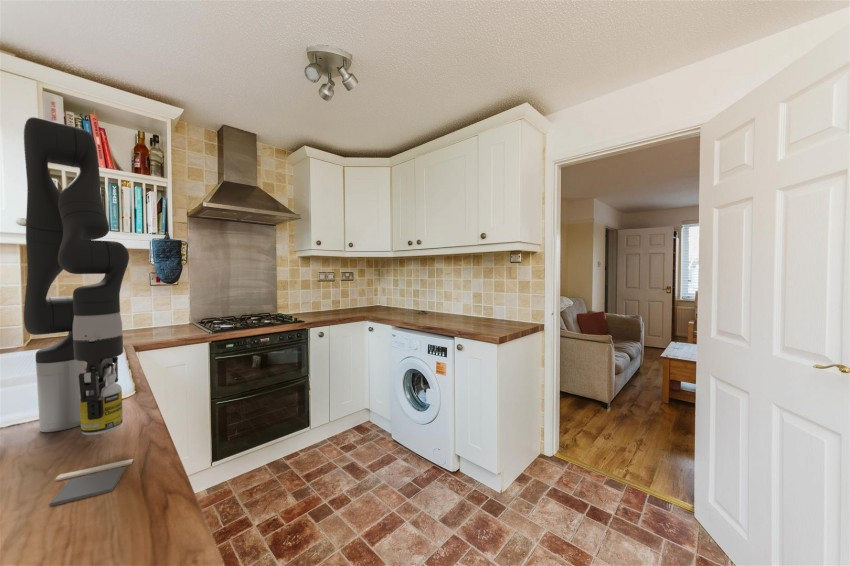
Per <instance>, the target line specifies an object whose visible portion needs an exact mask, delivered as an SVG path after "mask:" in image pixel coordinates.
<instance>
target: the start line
mask: <svg viewBox="0 0 850 566" xmlns="http://www.w3.org/2000/svg"><path fill="white" fill-rule="evenodd" d="M133 462H134V458H129V459H126V460H121V461H115V462H112V463H108V464H102V465H98V466H94V467H93V466H92V467H88V468H84V469H80V470H75V471H71V472H67V473H66V472H65V473H61V474H59V475H58V476H56V478H54V479H55V482H57V481H62V480H67V479H73V478H77V477H81V476H83V475H84V476H86V475H90V474H92V473H93V474H95V473H99V472H104V471H108V470H113V469H117V468H122V467H126V466H129V465H132V464H133Z"/></svg>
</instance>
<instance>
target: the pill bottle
mask: <svg viewBox="0 0 850 566" xmlns="http://www.w3.org/2000/svg"><path fill="white" fill-rule="evenodd" d="M115 380H116V374H115V373H111V374H110V375H109V378H108V386H107V388H106V389H104V393H103V416H102V418H100V419H94V420H89V419H88V413H87V402H86V403H85V402H83V403H81V397H80V420H81V425H80V431H81V434H83V435H84V436H85V435H86V436H95V435H96V436H97V435H102V434H104V433H108V432H111V431H114V430H116V429H118V428H119V427H121V426H122V424H123V420H124V418H123V417H124V416H123V393H122V392H123V391H122V386H121V385H120V384H119V383H117V382H116V383H114V381H115ZM102 383H103V382H102ZM102 383H99V385H100V384H102ZM91 395H94V391H93V390H92V391H91Z"/></svg>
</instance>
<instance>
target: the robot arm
mask: <svg viewBox="0 0 850 566" xmlns="http://www.w3.org/2000/svg"><path fill="white" fill-rule="evenodd" d="M23 127H24V128H23V148H24V158H25V159H24V160H25V171H26V172H25V174H26V184H27V186H26V188H27V190H26V191H27V195H26V196H27V197H26V199H27V200H26V215H25V217H26V219H25V244H26V245H25V246H26V248H25V250H26V264H27V265H26V267H27V268H26V269H27V271H26V272H27V273H26V286H25V294H24V295H25V297H24V307H23V324H24V328H25V330H26V332H27V333H28V334H30V335H32V336H38V335H39V336H40V335H49V334H59V333H61V334H62V333H68V334H67V335H66V336H65V337H64V338H63V339H60V340H59V341H57V342H56V343H53V344H51V345H48V346H45V347H42V348H40V349H38V350H37V351H36V353H35V368H36V369H35V370H36V385H37V386H36V387H37V402H38V423H39V431H40V432H41V433H52V432H60V431H65V430H69V429H73V428H76V427H78V426H81V420H80V397H81V403H83V402H85V403H86V402H87V413H88V419H89V420H94V419H100V418H102V416H103V393H104V389H106V388H107V386H108V378H109V375H110V374H111V373H115V374H116V380H115V381H114V383H116V384H117V383H118V381H119V367H118V365H119V356H121V355H122V354H123V353H124V340H123V339H124V337H123V334H124V333H123V322H122V321H123V320H122V318H121V317H122V316H121V303H120V301H121V300H120V296H121V295H120V293H121V287H122V283H123V281H124V280H123V279H124V277H125V274H126V271H127V268H128V266H129V262H130V261H129V260H130V253H129V251H128V248H127V247H126V246H125V245H124V244H123V243H121V242H118V241H114V240H98V239H101V238H104V237H106V236H107V235H108V234H109V231H110V225H109V221H108V218H107V215H106V211H105V208H104V205H103V199H102V192H101V191H102V190H101V176H100V166H99V157H98V148H97V143H96V141H95V138H94V136H93V135H92V134H91V132H89V131H88V130H85V129H83V128H79V127H77V126H72V125H69V124H65V123H61V122H57V121H53V120H49V119H45V118H40V117H34V116H32V117H28V118H27V119H26V120H25V122H24V125H23ZM49 164H55V165H61V166H67V167H71V168H79V172H78V174H77V176H76V177H75V178H74V179H73V180H72V181H71V182H70V183H69V184H68V185H67V186H66V187H65V188H64V189H63V190H62V191H60V190H59V189H58V187H57V186H56V184H55V182H54V181H53V178H52V176H51V173H50V170H49ZM63 271H65V272H67V273H69V274H72V275H73V274H74V275H101V274H102V275H103V274H104V276H103V278H102V280H100V281H99V282H97V283H94V284H88V285H82V286H78V287H76V288H75V289H74V290H73V291H72V295H69V296H68V295H67V296H66V295H62V296H49V297H48V293H49V290H50V288H51V286H52V284H53V283H54V281H55V280H56V278H57V277H58V276H59V275H60V273H62V272H63ZM102 382H103V383H102ZM99 383H102V384H100V385H99ZM92 390H93V391H94V395H91V391H92Z"/></svg>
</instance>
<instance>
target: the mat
mask: <svg viewBox="0 0 850 566" xmlns="http://www.w3.org/2000/svg"><path fill="white" fill-rule="evenodd" d="M125 470H126V466H121V467H117V468H113V469H108V470H104V471H99V472H95V473H93V474H92V473H90V474H86V475H84V476H83V475H81V476H77V477H72V478H69V480H68V481H66V483H65V484H64V486H63V487H62V488H61V489H60V491H58V492H57V494H56V495H55V496H54V498H53V499H52V500H51V501H50V502H49V507H53V506H58V505H60V504H66V503H70V502H73V501H77V500H81V499H85V498H89V497H93V496H97V495H98V496H99V495H101V494H106V493H110V492H113V491H114V490H115V489H116V486H117V485H118V482H119V481H120V479H121V477H122V476H123V474H124V473H125Z"/></svg>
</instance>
